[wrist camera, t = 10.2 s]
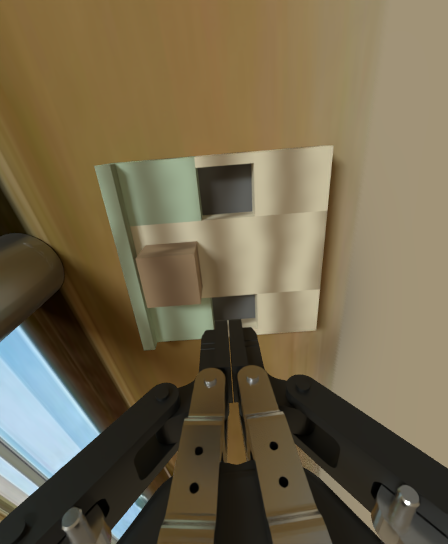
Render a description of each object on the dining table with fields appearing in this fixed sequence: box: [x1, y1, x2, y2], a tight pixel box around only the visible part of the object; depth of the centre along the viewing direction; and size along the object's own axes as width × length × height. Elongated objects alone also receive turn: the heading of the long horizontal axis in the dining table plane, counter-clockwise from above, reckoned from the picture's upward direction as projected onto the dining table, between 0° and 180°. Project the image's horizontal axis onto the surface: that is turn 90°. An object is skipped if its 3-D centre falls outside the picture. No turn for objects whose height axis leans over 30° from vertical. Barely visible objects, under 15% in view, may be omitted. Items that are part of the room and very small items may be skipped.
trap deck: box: [94, 146, 333, 350], centre depth 32 cm, size 24×23×4 cm
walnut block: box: [136, 241, 203, 308], centre depth 30 cm, size 6×6×4 cm
